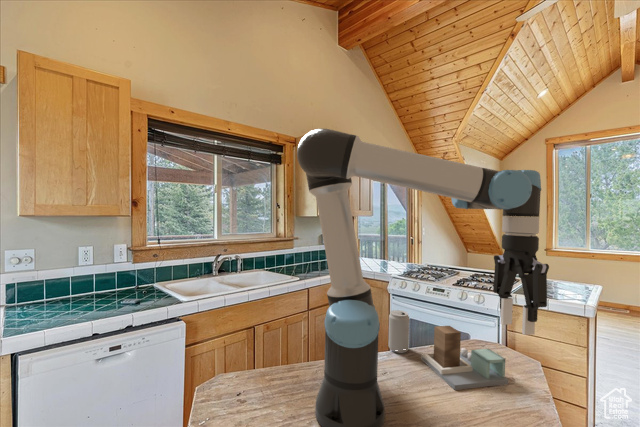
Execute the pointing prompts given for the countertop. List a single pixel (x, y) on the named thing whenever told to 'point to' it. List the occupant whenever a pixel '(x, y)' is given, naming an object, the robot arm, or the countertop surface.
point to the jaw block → (447, 346)
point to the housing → (487, 362)
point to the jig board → (463, 373)
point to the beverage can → (398, 331)
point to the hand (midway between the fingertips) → (516, 328)
